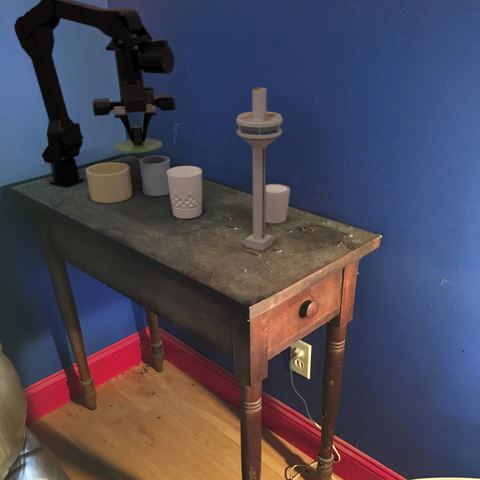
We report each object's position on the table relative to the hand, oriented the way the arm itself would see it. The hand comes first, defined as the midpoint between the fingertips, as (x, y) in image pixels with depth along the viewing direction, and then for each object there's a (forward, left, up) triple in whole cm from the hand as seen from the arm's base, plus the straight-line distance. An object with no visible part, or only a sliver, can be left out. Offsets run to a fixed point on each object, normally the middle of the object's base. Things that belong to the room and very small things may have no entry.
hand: (138, 141), depth 136 cm
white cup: (+18, -6, -13) cm, 23 cm away
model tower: (+41, -13, -13) cm, 45 cm away
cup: (+2, +3, -13) cm, 13 cm away
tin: (-6, -6, -13) cm, 15 cm away
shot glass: (+37, +1, -13) cm, 39 cm away
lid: (0, 0, -1) cm, 1 cm away
